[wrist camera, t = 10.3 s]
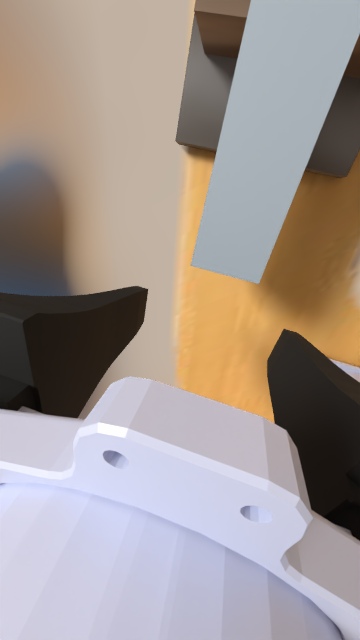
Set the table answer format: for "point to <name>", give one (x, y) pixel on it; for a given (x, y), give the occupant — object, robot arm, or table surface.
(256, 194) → the batten
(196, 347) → the table surface
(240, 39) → the fulcrum
